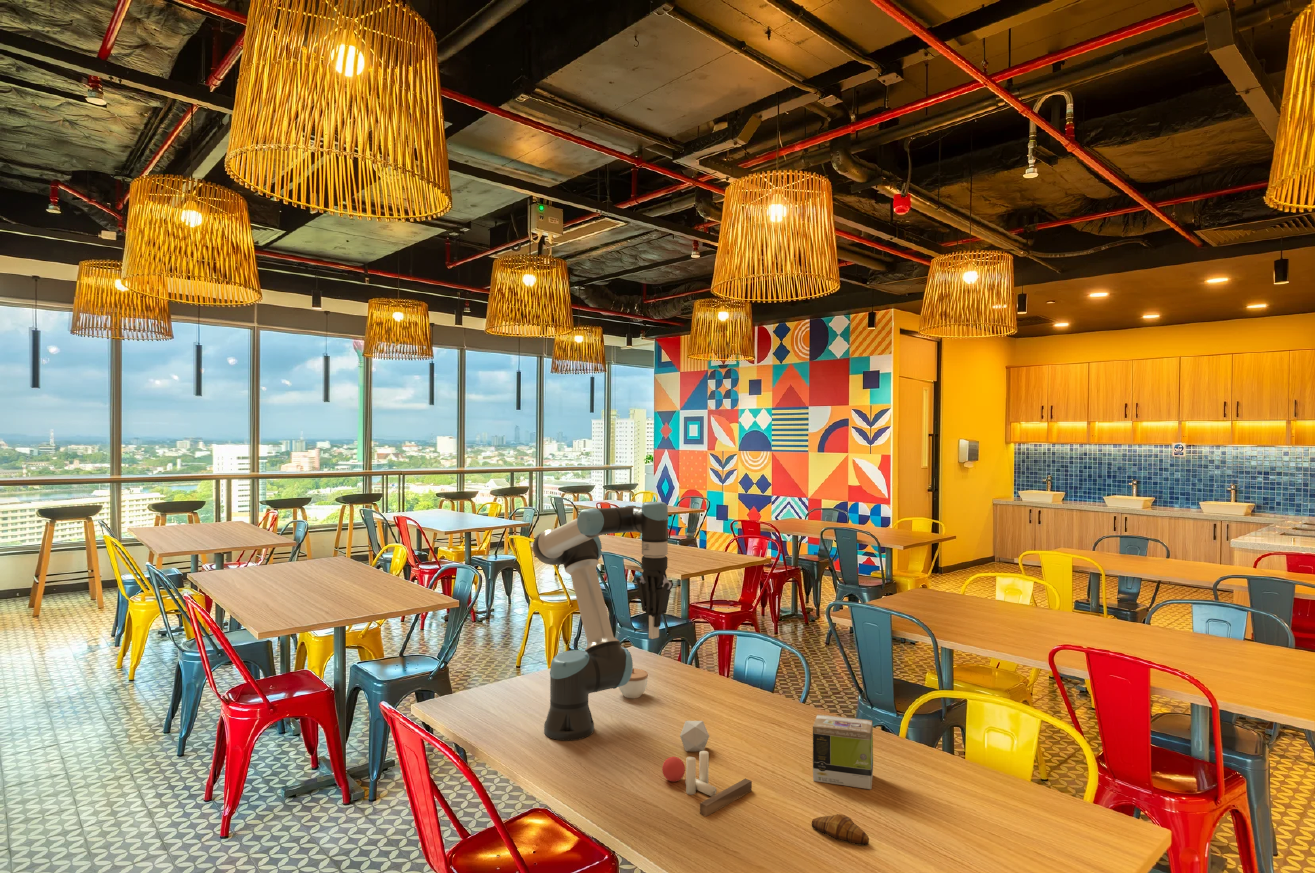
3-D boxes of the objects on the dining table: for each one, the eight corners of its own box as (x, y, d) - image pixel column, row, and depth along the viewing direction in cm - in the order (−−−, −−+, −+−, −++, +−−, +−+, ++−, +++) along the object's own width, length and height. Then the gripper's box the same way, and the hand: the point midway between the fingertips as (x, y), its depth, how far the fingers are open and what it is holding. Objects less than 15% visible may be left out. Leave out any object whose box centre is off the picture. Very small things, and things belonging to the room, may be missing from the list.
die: (699, 760, 206) (716, 729, 209) (673, 743, 208) (691, 712, 211) (697, 759, 214) (714, 729, 217) (672, 742, 215) (689, 712, 218)
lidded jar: (647, 700, 252) (647, 673, 252) (616, 700, 252) (616, 673, 252) (648, 690, 262) (648, 664, 262) (618, 689, 262) (618, 663, 262)
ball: (677, 781, 187) (664, 788, 191) (693, 771, 191) (681, 778, 195) (666, 758, 190) (654, 766, 193) (682, 749, 194) (670, 757, 197)
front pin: (685, 777, 189) (710, 788, 183) (691, 774, 191) (716, 785, 185) (685, 786, 189) (710, 797, 183) (691, 783, 191) (716, 795, 185)
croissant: (874, 840, 165) (874, 817, 165) (863, 853, 159) (863, 830, 159) (818, 821, 173) (818, 799, 173) (805, 833, 167) (805, 811, 167)
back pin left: (697, 785, 190) (697, 752, 190) (703, 782, 191) (703, 749, 191) (704, 788, 188) (704, 755, 188) (710, 785, 190) (710, 752, 190)
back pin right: (684, 792, 186) (684, 758, 186) (690, 789, 188) (690, 755, 188) (691, 795, 184) (691, 761, 184) (697, 792, 186) (697, 758, 186)
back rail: (699, 813, 175) (700, 802, 175) (745, 788, 188) (745, 778, 188) (706, 816, 174) (706, 805, 174) (751, 790, 187) (751, 780, 187)
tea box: (873, 774, 197) (873, 719, 197) (871, 791, 188) (871, 733, 188) (816, 765, 202) (816, 712, 202) (811, 781, 192) (812, 725, 193)
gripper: (629, 554, 213) (628, 635, 213) (662, 559, 204) (661, 644, 204) (647, 551, 219) (646, 631, 219) (680, 556, 210) (679, 639, 210)
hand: (653, 637), depth 211 cm, fingers closed
